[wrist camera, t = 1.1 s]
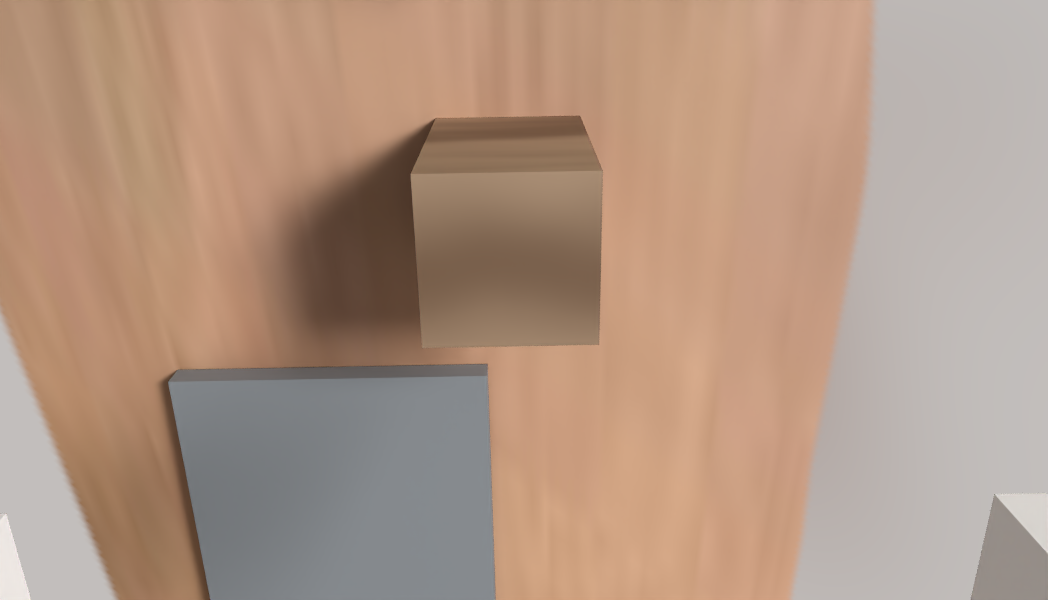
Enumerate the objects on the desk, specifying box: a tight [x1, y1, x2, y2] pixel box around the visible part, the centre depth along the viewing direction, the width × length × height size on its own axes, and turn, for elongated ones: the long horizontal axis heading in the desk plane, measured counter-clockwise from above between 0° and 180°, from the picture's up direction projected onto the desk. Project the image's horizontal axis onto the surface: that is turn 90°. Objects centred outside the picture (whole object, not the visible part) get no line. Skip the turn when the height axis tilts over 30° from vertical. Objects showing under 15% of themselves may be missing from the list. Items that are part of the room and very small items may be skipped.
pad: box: [168, 364, 496, 600], centre depth 35 cm, size 12×12×1 cm
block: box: [411, 116, 603, 348], centre depth 27 cm, size 5×5×8 cm
